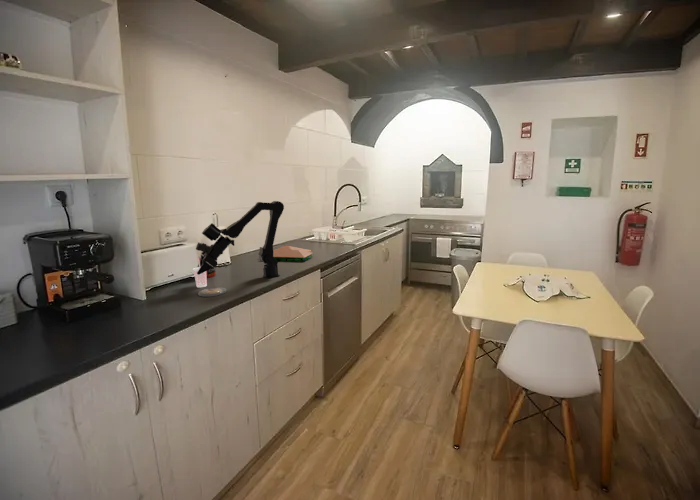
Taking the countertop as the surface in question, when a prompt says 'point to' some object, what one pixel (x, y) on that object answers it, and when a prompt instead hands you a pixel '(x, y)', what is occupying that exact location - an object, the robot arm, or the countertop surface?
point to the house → (292, 253)
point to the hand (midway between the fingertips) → (197, 272)
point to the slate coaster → (212, 292)
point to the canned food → (209, 272)
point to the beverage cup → (200, 277)
